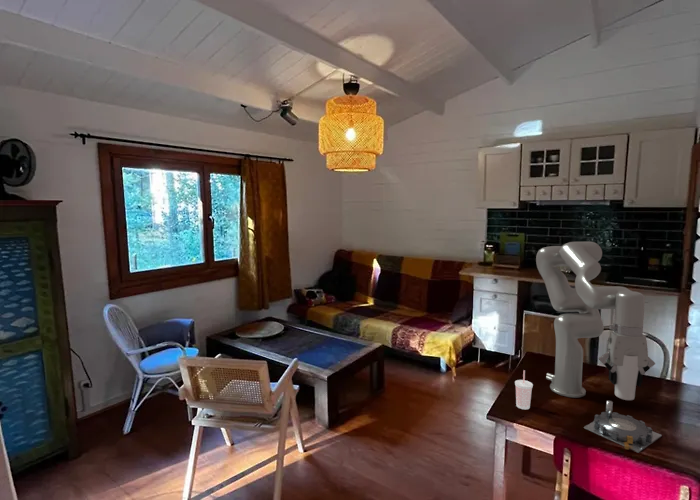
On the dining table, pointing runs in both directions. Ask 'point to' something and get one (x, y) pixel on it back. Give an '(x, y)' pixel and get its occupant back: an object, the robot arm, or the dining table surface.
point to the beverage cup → (523, 393)
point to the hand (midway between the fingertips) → (625, 383)
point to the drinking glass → (627, 378)
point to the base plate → (635, 446)
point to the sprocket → (622, 426)
